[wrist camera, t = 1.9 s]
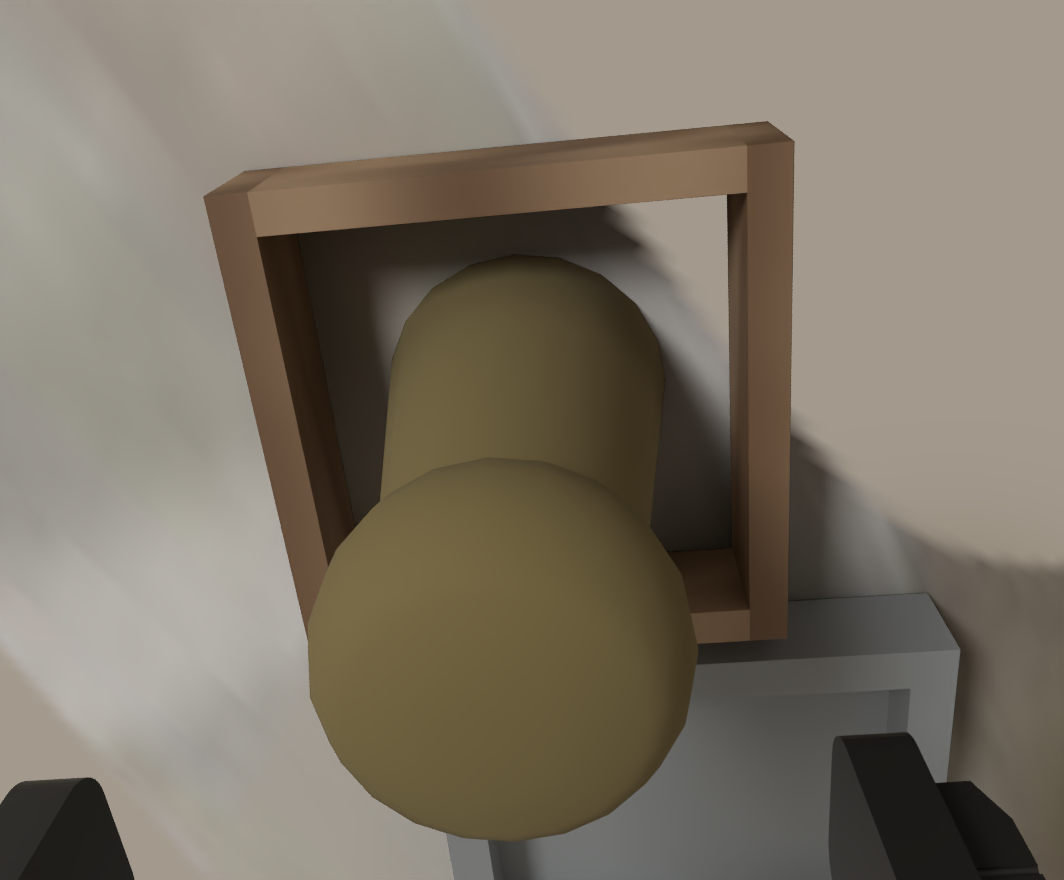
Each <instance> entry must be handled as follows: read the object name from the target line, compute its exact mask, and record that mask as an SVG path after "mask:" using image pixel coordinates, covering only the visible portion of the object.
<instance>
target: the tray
mask: <svg viewBox="0 0 1064 880" xmlns="http://www.w3.org/2000/svg"><path fill="white" fill-rule="evenodd" d="M697 645H698V649H699V651H698V657H697V663H696V669H695V675H694V681H693V687H692V693H691V698H690V704H689V709H688V714H687V719H686V724H685V726H684V728H683V730H682V731H681V733H680V735H679V736H678V738H677V740H676V741H675V743H674V745H673V746H672V748H671V750H670V751H669V753H668V755H667V756H666V758H665V760H664V761H663V763H662V765H661V766H660V768H659V769H658V770H657V771H656V772H655V773H654V775H653V776H652V777H651V778H650V779H649V781H648V782H647V783H646V784H645V785H644V786H643V787H642V788H640V789H639V790H638V791H637V792H636V793H634V794H633V795H632V796H631V797H630V798H628V799H627V800H626V801H625V802H624V803H622V804H621V805H620V806H619V807H618V808H616V809H615V810H614V811H613V812H612V813H610V814H609V815H607V816H604V817H602V818H600V819H598V820H595V821H593V822H591V823H588V824H586V825H584V826H582V827H579V828H577V829H575V830H572V831H570V832H568V833H565V834H561V835H555V836H548V837H542V838H536V839H530V840H524V841H518V842H508V841H494V840H480V839H466V838H461V837H457V836H454V835H451V834H448V833H446V835H447V841H448V846H449V852H450V857H451V863H452V868H453V874H454V879H455V880H832V876H831V869H830V861H829V847H828V837H829V813H830V788H831V764H832V746H833V741H834V738H835V737H836V736H845V735H862V734H879V733H896V732H908V733H909V734H910V735H911V736H912V737H913V738H914V740H915V742H916V743H917V745H918V747H919V750H920V752H921V754H922V756H923V758H924V760H925V762H926V764H927V766H928V768H929V770H930V773H931V775H932V777H933V779H934V781H935V783H943V782H947V773H948V763H949V754H950V744H951V734H952V725H953V715H954V706H955V696H956V687H957V677H958V668H959V658H960V648H959V646H958V645H957V643H956V641H955V640H954V638H953V636H952V634H951V633H950V631H949V629H948V627H947V626H946V624H945V622H944V621H943V619H942V617H941V615H940V614H939V612H938V610H937V608H936V607H935V605H934V603H933V602H932V600H931V598H930V596H929V595H928V593H916V594H900V595H883V596H867V597H851V598H835V599H818V600H802V601H788V629H787V639H770V640H753V641H736V642H719V643H702V644H697Z"/></svg>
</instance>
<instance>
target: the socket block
mask: <svg viewBox="0 0 1064 880" xmlns="http://www.w3.org/2000/svg"><path fill="white" fill-rule="evenodd" d="M725 194H727V222H728V289H729V291H728V292H729V293H728V294H729V368H730V439H731V511H732V548H727V549H711V550H696V551H681V552H667V553H668V555H669V556H670V558H671V559H672V561H673V562H674V564H675V565H676V567H677V568H678V570H679V571H680V573H681V574H682V578H683V582H684V587H685V591H686V596H687V600H688V605H689V609H690V613H691V618H692V622H693V627H694V631H695V636H696V640H697V644H702V643H719V642H736V641H753V640H770V639H787V629H788V558H789V487H790V417H791V346H792V341H791V340H792V275H793V274H792V273H793V203H794V202H793V201H794V141H793V140H792V139H791V138H789V137H788V136H787V135H785V134H784V133H783V132H781V131H780V130H779V129H777V128H776V127H775V126H773V125H772V124H771V123H769V122H768V121H766V122H755V123H745V124H734V125H724V126H714V127H703V128H692V129H682V130H672V131H662V132H651V133H641V134H629V135H620V136H608V137H598V138H588V139H577V140H567V141H556V142H546V143H535V144H525V145H514V146H504V147H493V148H483V149H472V150H462V151H451V152H441V153H430V154H420V155H409V156H399V157H388V158H378V159H367V160H357V161H347V162H336V163H326V164H315V165H305V166H294V167H284V168H273V169H263V170H252V171H244V172H243V173H241V174H239V175H238V176H236V177H234V178H233V179H231V180H230V181H228V182H226V183H225V184H223V185H221V186H220V187H218V188H217V189H215V190H213V191H212V192H210V193H208V194H207V195H205V196H204V201H205V206H206V210H207V214H208V218H209V223H210V227H211V231H212V235H213V240H214V244H215V248H216V252H217V257H218V261H219V265H220V269H221V274H222V278H223V282H224V286H225V291H226V295H227V299H228V303H229V308H230V312H231V316H232V320H233V325H234V329H235V333H236V337H237V342H238V346H239V350H240V354H241V359H242V363H243V367H244V371H245V376H246V380H247V384H248V388H249V393H250V397H251V401H252V405H253V410H254V414H255V418H256V422H257V427H258V431H259V435H260V439H261V444H262V448H263V452H264V456H265V461H266V465H267V469H268V473H269V478H270V482H271V486H272V490H273V495H274V499H275V503H276V507H277V512H278V516H279V520H280V524H281V529H282V533H283V537H284V541H285V546H286V550H287V554H288V558H289V563H290V567H291V571H292V575H293V580H294V584H295V588H296V592H297V597H298V601H299V605H300V609H301V614H302V618H303V622H304V626H305V631H306V635H307V639H308V621H309V618H310V615H311V612H312V610H313V607H314V604H315V601H316V599H317V596H318V593H319V590H320V588H321V585H322V582H323V580H324V577H325V574H326V572H327V569H328V567H329V565H330V562H331V560H332V558H333V555H334V553H335V551H336V549H337V548H338V547H339V546H340V544H341V543H342V542H343V541H344V540H345V539H346V538H347V537H348V535H349V534H350V533H351V532H352V531H353V530H354V529H355V524H354V519H353V514H352V509H351V504H350V499H349V494H348V489H347V484H346V479H345V474H344V469H343V464H342V459H341V454H340V449H339V444H338V439H337V434H336V429H335V424H334V419H333V414H332V409H331V404H330V399H329V394H328V389H327V384H326V379H325V373H324V368H323V363H322V358H321V353H320V348H319V343H318V338H317V333H316V328H315V323H314V318H313V313H312V308H311V303H310V298H309V293H308V288H307V283H306V278H305V273H304V268H303V263H302V258H301V253H300V248H299V243H298V238H297V233H306V232H318V231H329V230H340V229H351V228H362V227H373V226H384V225H395V224H406V223H417V222H428V221H439V220H450V219H461V218H472V217H483V216H494V215H505V214H516V213H527V212H538V211H549V210H560V209H572V208H583V207H594V206H605V205H616V204H627V203H637V202H649V201H660V200H671V199H682V198H693V197H704V196H715V195H725Z"/></svg>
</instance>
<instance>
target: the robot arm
mask: <svg viewBox="0 0 1064 880" xmlns="http://www.w3.org/2000/svg"><path fill="white" fill-rule="evenodd" d="M828 847H829V861H830V869H831V876H832V880H1046V879H1045V878H1044V876H1043V874H1039V871H1038V865H1037V863H1036V861H1035V859H1034V858H1033V856H1032V854H1031V852H1030V850H1029V848H1028V847H1027V845H1026V843H1025V841H1024V839H1023V837H1022V836H1021V834H1020V832H1019V830H1018V828H1017V827H1016V825H1015V823H1014V821H1013V819H1012V818H1011V817H1010V816H1008V815H1007V814H1006V813H1005V812H1004V811H1003V810H1002V809H1001V808H1000V807H998V806H997V805H996V804H995V803H994V802H993V801H992V800H991V799H990V798H988V797H987V796H986V795H985V794H984V793H983V792H982V791H981V790H979V789H978V788H977V787H976V786H975V785H974V784H973V783H972V782H971V781H961V782H943V783H935V781H934V779H933V777H932V775H931V773H930V770H929V768H928V766H927V764H926V762H925V760H924V758H923V756H922V754H921V752H920V750H919V747H918V745H917V743H916V742H915V740H914V738H913V737H912V736H911V735H910V734H909V733H908V732H896V733H879V734H862V735H845V736H836V737H835V738H834V741H833V746H832V764H831V788H830V813H829V837H828ZM0 880H134V876H133V872H132V869H131V867H130V864H129V861H128V858H127V856H126V853H125V850H124V847H123V845H122V842H121V839H120V836H119V833H118V830H117V828H116V825H115V822H114V819H113V817H112V814H111V811H110V808H109V805H108V803H107V800H106V797H105V794H104V792H103V790H102V787H101V786H100V784H99V783H98V782H97V781H96V780H95V779H93V778H71V779H55V780H38V781H24V782H21V783H19V784H17V785H15V786H14V787H13V788H12V789H11V790H10V792H9V793H8V794H7V796H6V797H5V798H4V800H3V801H2V803H1V804H0Z"/></svg>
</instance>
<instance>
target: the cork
mask: <svg viewBox="0 0 1064 880" xmlns="http://www.w3.org/2000/svg"><path fill="white" fill-rule="evenodd" d="M665 380H666V379H665V374H664V370H663V365H662V360H661V355H660V351H659V346H658V341H657V338H656V337H655V335H654V333H653V332H652V330H651V328H650V327H649V325H648V324H647V322H646V320H645V319H644V317H643V315H642V314H641V312H640V310H639V309H638V307H637V305H636V304H635V303H634V302H633V301H632V300H631V299H630V298H628V297H627V296H626V295H625V294H624V293H623V292H621V291H620V290H619V289H618V288H617V287H615V286H614V285H613V284H612V283H611V282H609V281H608V280H607V279H606V278H605V277H603V276H602V275H601V274H598V273H596V272H593V271H591V270H588V269H586V268H583V267H581V266H578V265H576V264H573V263H571V262H568V261H566V260H563V259H561V258H555V257H541V256H527V255H510V256H505V257H501V258H497V259H493V260H489V261H485V262H481V263H477V264H473V265H469V266H468V267H466V268H464V269H463V270H461V271H460V272H458V273H456V274H455V275H453V276H452V277H450V278H448V279H447V280H445V281H444V282H442V283H440V284H439V285H437V286H436V287H434V288H432V290H431V291H430V292H429V293H428V294H427V296H426V297H425V298H424V299H423V301H422V302H421V303H420V304H419V306H418V307H417V308H416V309H415V310H414V312H413V313H412V314H411V315H410V317H409V318H408V319H407V320H406V322H405V325H404V327H403V330H402V333H401V336H400V339H399V341H398V344H397V347H396V350H395V353H394V355H393V358H392V365H391V377H390V389H389V400H388V412H387V424H386V436H385V447H384V459H383V471H382V483H381V495H380V502H379V503H378V504H377V505H376V506H374V507H373V508H372V509H371V510H370V511H369V513H368V514H367V515H366V516H365V517H364V518H363V519H362V521H361V522H360V523H359V524H358V525H357V526H356V527H355V529H354V530H353V531H352V532H351V533H350V534H349V535H348V537H347V538H346V539H345V540H344V541H343V542H342V543H341V544H340V546H339V547H338V548H337V549H336V551H335V553H334V555H333V558H332V560H331V562H330V565H329V567H328V569H327V572H326V574H325V577H324V580H323V582H322V585H321V588H320V590H319V593H318V596H317V599H316V601H315V604H314V607H313V610H312V612H311V615H310V618H309V621H308V657H309V683H310V699H311V701H312V703H313V706H314V708H315V710H316V713H317V715H318V717H319V719H320V722H321V724H322V726H323V729H324V731H325V733H326V735H327V738H328V740H329V742H330V744H331V746H332V748H333V749H334V751H335V753H336V755H337V756H338V758H339V760H340V762H341V763H342V764H343V765H344V766H345V767H346V769H347V770H348V771H349V772H350V773H351V774H352V775H353V776H354V777H355V778H356V780H357V781H358V782H359V783H360V784H361V785H362V786H363V787H364V788H365V789H366V791H367V792H368V793H369V794H370V795H371V796H372V797H373V798H375V799H376V800H378V801H380V802H381V803H383V804H384V805H386V806H388V807H389V808H391V809H393V810H394V811H396V812H397V813H399V814H401V815H402V816H404V817H406V818H407V819H409V820H410V821H412V822H414V823H416V824H419V825H422V826H426V827H429V828H432V829H435V830H438V831H442V832H445V833H448V834H451V835H454V836H457V837H461V838H466V839H480V840H494V841H508V842H518V841H524V840H530V839H536V838H542V837H548V836H555V835H561V834H565V833H568V832H570V831H572V830H575V829H577V828H579V827H582V826H584V825H586V824H588V823H591V822H593V821H595V820H598V819H600V818H602V817H604V816H607V815H609V814H610V813H612V812H613V811H614V810H615V809H616V808H618V807H619V806H620V805H621V804H622V803H624V802H625V801H626V800H627V799H628V798H630V797H631V796H632V795H633V794H634V793H636V792H637V791H638V790H639V789H640V788H642V787H643V786H644V785H645V784H646V783H647V782H648V781H649V779H650V778H651V777H652V776H653V775H654V773H655V772H656V771H657V770H658V769H659V768H660V766H661V765H662V763H663V761H664V760H665V758H666V756H667V755H668V753H669V751H670V750H671V748H672V746H673V745H674V743H675V741H676V740H677V738H678V736H679V735H680V733H681V731H682V730H683V728H684V726H685V724H686V719H687V714H688V709H689V704H690V698H691V693H692V687H693V681H694V675H695V669H696V663H697V657H698V651H699V649H698V645H697V640H696V636H695V631H694V627H693V622H692V618H691V613H690V609H689V605H688V600H687V596H686V591H685V587H684V582H683V578H682V574H681V573H680V571H679V570H678V568H677V567H676V565H675V564H674V562H673V561H672V559H671V558H670V556H669V555H668V553H667V552H666V550H665V549H664V547H663V546H662V544H661V543H660V541H659V540H658V538H657V537H656V535H655V534H654V532H653V530H652V529H651V528H650V524H651V514H652V505H653V495H654V485H655V476H656V466H657V457H658V447H659V437H660V428H661V418H662V409H663V399H664V389H665Z"/></svg>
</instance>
